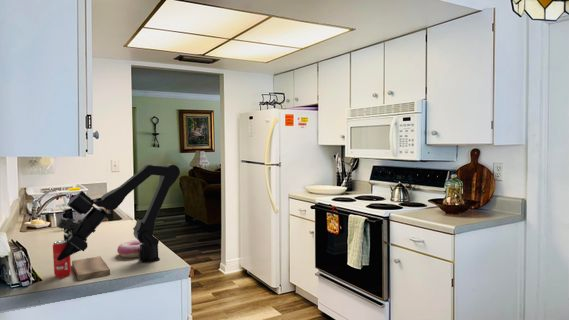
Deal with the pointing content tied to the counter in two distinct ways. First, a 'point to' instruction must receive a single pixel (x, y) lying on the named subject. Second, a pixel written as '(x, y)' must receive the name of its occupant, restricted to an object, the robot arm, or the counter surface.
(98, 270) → the walnut board
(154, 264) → the counter surface
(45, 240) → the counter surface
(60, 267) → the beverage can
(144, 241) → the robot arm
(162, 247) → the counter surface
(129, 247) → the donut
